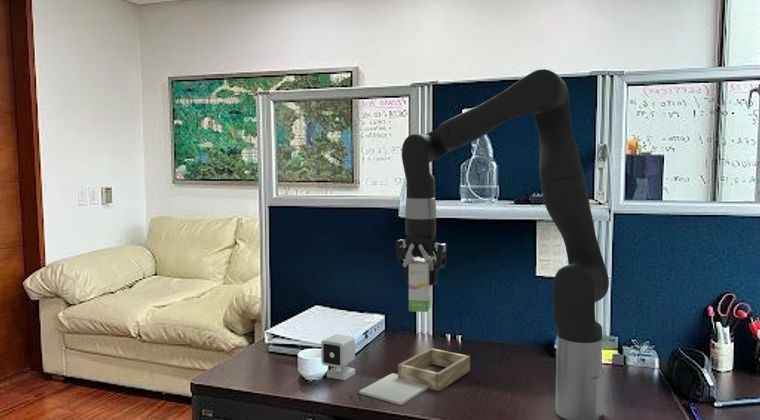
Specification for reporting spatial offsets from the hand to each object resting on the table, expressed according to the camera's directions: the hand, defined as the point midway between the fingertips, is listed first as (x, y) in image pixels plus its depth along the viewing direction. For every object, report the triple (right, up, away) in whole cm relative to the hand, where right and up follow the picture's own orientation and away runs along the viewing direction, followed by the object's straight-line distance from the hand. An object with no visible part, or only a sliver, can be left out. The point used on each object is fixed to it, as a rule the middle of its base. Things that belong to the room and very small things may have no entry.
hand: (420, 282), depth 145 cm
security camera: (-21, -25, +5) cm, 33 cm away
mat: (-6, -25, -4) cm, 26 cm away
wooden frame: (+4, -24, +5) cm, 25 cm away
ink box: (0, -6, +1) cm, 6 cm away
